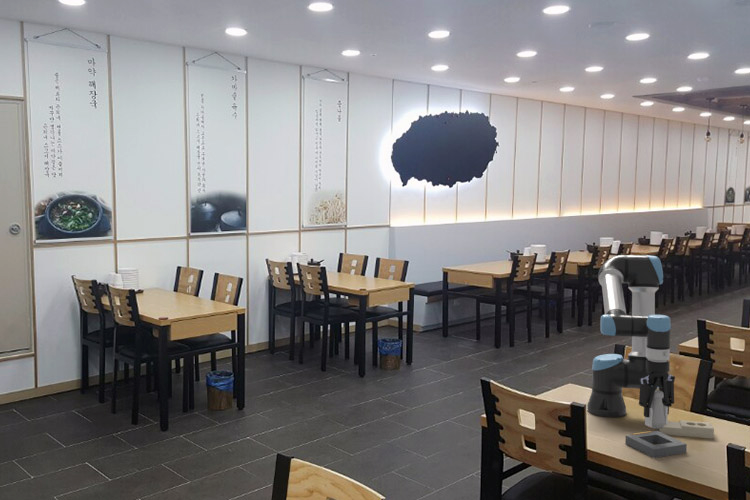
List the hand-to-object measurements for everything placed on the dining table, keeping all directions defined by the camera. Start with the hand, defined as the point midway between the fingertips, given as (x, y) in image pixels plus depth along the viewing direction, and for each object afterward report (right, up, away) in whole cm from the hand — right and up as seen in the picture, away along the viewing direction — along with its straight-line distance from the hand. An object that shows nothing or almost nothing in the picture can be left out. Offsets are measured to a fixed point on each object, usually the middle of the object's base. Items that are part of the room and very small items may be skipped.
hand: (656, 424), depth 233 cm
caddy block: (0, -8, +1) cm, 8 cm away
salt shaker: (0, -1, 0) cm, 1 cm away
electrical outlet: (+18, -8, +16) cm, 25 cm away
